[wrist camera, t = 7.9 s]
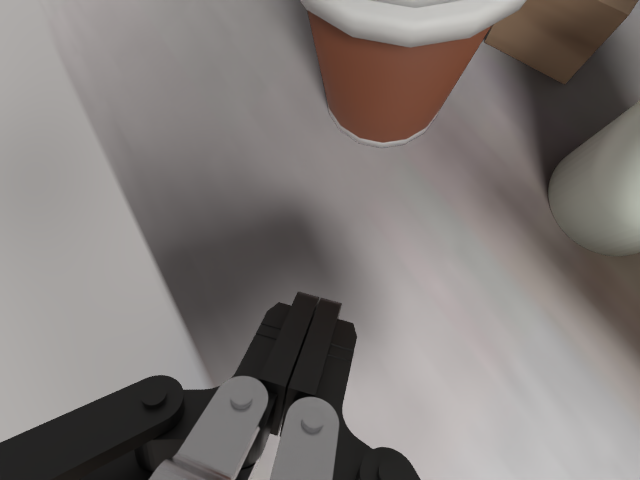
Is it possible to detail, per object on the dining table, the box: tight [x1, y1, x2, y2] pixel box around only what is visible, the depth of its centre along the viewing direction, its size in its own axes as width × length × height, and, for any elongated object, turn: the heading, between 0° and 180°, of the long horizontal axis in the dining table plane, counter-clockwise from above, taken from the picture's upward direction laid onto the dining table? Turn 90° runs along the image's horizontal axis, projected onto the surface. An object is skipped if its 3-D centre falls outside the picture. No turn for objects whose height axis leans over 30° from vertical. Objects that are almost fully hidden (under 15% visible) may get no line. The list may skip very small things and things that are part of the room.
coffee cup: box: [300, 0, 526, 148], centre depth 16 cm, size 9×9×12 cm
